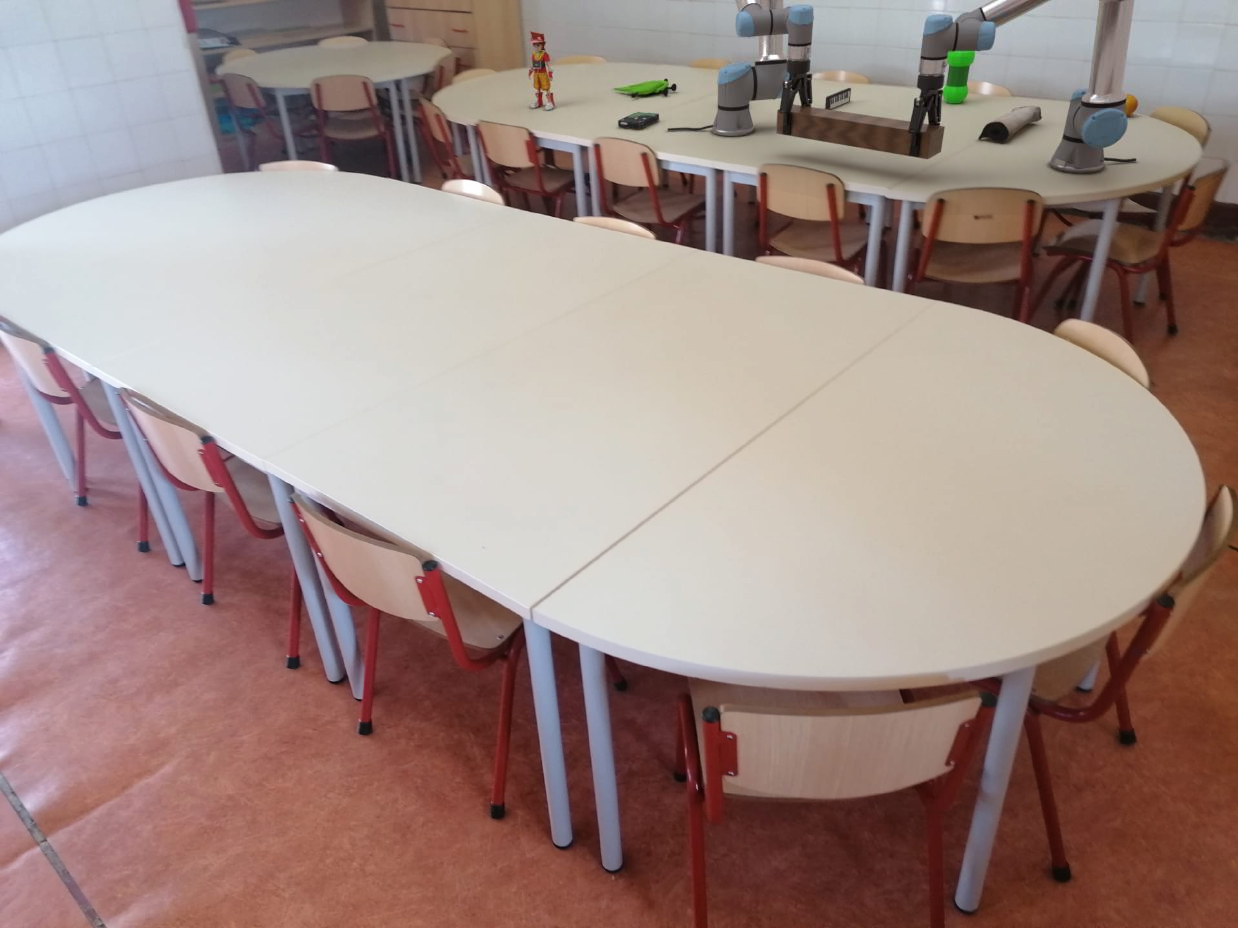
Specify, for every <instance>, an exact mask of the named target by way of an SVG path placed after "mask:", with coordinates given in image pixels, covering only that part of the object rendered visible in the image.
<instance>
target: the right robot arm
mask: <svg viewBox="0 0 1238 928" xmlns="http://www.w3.org/2000/svg"><path fill="white" fill-rule="evenodd" d="M1135 1H1136V0H1098V10H1097V15H1096V17H1097V19H1096V25H1095V33H1094V41H1093V42H1094V43H1093V49H1092V57H1091V67H1090V76H1089V83H1088V88H1078V89H1075V90H1074V91H1073V92H1072V94H1071V96H1070V97H1071V98H1070V100H1069V106H1068V110H1067V116H1066V120H1065V124H1064V129H1063V133H1062V138H1061V141H1060V142H1059V144H1058V146H1057V147H1056V149H1055V151H1054V153H1053V154H1052V156H1051V159H1050V163H1049V166H1050V167H1051V168H1052V169H1054V170H1057V171H1059V172H1064V173H1070V174H1093V173H1097V172H1101V171H1102V170H1103V169H1104V166H1105V162H1115V163H1132V162H1133V163H1134V162H1136V161H1137V158H1136V157H1134V158H1117V157H1105V152H1104V149H1105V148H1109V147H1111V146H1113V145H1115V144H1116V143H1117V142H1119V141H1120V140H1121V139H1122V138H1123V137H1124V136H1125V135H1126V132H1127V129H1128V127H1129V126H1128V124H1129V123H1128V116H1126V114H1125V106H1126V99H1127V95H1126V94H1127V93H1126V92H1125V91H1124V90H1123V84H1124V77H1125V71H1126V70H1125V69H1126V62H1127V57H1128V48H1129V42H1130V35H1131V30H1132V29H1131V28H1132V21H1133V14H1134V7H1135ZM1048 2H1051V0H991V1H989V2H987V3H985V4H984V5H981V6H980V7H978V8H976V9H973V10H972V11H970V12H969V11H967V12H963V13H960V14H959V15H957V17H955V19H954V17H953V16H952V15H951V14H942V13H941V14H940V13H939V14H938V13H937V14H931V15H929V16H927V17H926V18H925V21H924V27H923V32H922V39H921V49H920V57H919V63H918V64H919V65H918V70H917V71H918V73H919V74H918V75H917V81H916V88H917V89H919V90H920V93H919V97H914V99H913V108H912V111H911V116H910V120H909V121H910V126H909V130H908V133H909V134H912V137H911V145H910V153H909V156H908V157H911V156H916V157H915V158H917V157H918V156H919V149H920V141H921V134H920V132H921V129H922V125H923V123H925V120H926V116H927V122H928V123H927V124H931V125H938V126H941V121H942V102H943V89H944V86H945V84H944V83H945V78H946V76H945V73H946V69H947V66H948V63H947V56H948V52H949V51H952V52H953V51H975V52H981V51H982V52H984V51H990V50H992V48H993V47H994V44H995V39H996V34H997V33H996V32H997V29H998V28H999V27H1001V26H1003V25H1005V24H1007V23H1009V22H1011V21H1013V20H1015V19H1017V18H1020V17H1021V16H1023V15H1025V14H1026V13H1029V12H1031V11H1033V10H1035V9H1036V8H1038V7H1039V8H1040V7H1041V6H1042V5H1045V4H1047V3H1048ZM942 88H943V89H942Z"/></svg>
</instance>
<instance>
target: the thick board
mask: <svg viewBox="0 0 1238 928" xmlns="http://www.w3.org/2000/svg"><path fill="white" fill-rule="evenodd" d="M779 110H780V108H779V109H777V112H776V134H777V135H783V136H788V137H794V138H800V139H806V140H813V141H818V142H823V143H829V144H835V145H841V146H846V147H853V148H859V149H864V150H870V151H876V152H877V151H878V152H882V153H889V154H893V155H898V156H899V155H900V156H905V157H912V158H917V159H923V160H929V159H931V158H933V157H934V156H936V155H938V154H940V153H942V147H943V141H944V134H945V128H946V126H944V125H940V126H938V125H931V124H929V123H925V122H923V125H922V129H921V132H920V134H921V141H920V149H919V156H918V157H916V156H909V153H910V145H911V137H912V134H909V133H908V130H909V126H910V121H911V120H903V119H897V118H891V117H890V118H889V117H882V116H875V115H869V114H861V113H855V112H849V111H843V110H842V111H841V110H835V109H830V110H828V109H825V108H821V107H814V106H811V107H808V106H801V104H794V103H793V106H792V109H791V113H790V114H792V121H791V135H786V134H783V114H781V113H779Z"/></svg>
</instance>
